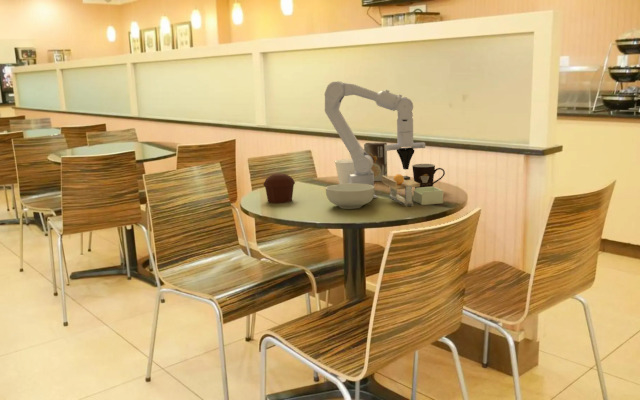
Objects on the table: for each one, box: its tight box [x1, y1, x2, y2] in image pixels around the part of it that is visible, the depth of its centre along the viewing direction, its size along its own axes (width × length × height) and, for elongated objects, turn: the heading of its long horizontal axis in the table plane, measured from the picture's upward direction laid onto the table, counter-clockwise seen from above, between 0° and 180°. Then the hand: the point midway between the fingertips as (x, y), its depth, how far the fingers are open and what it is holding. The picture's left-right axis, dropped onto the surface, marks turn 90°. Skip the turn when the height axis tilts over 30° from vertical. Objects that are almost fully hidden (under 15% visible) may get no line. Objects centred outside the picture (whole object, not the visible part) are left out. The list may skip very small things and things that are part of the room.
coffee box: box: [363, 142, 388, 182], centre depth 252 cm, size 9×6×16 cm
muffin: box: [263, 172, 296, 204], centre depth 216 cm, size 12×11×10 cm
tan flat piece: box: [381, 175, 420, 191], centre depth 207 cm, size 9×14×3 cm, turn 12°
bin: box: [413, 186, 444, 206], centre depth 205 cm, size 8×8×4 cm
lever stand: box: [388, 177, 414, 207], centre depth 207 cm, size 3×17×7 cm, turn 12°
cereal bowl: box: [325, 183, 376, 210], centre depth 202 cm, size 17×17×7 cm
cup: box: [334, 158, 356, 184], centre depth 238 cm, size 10×10×11 cm
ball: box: [393, 173, 404, 185], centre depth 202 cm, size 4×4×4 cm
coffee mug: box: [411, 163, 446, 189], centre depth 224 cm, size 12×9×10 cm
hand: (405, 169), depth 213 cm, fingers closed
